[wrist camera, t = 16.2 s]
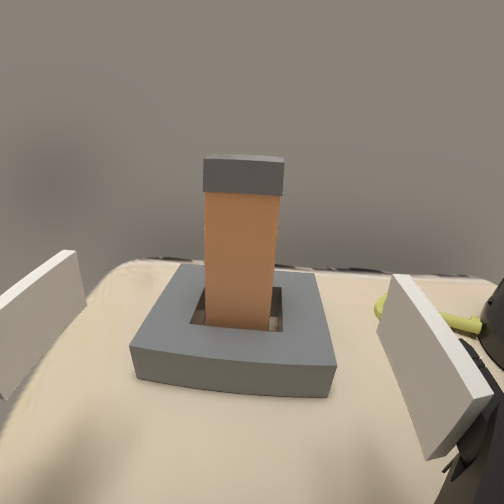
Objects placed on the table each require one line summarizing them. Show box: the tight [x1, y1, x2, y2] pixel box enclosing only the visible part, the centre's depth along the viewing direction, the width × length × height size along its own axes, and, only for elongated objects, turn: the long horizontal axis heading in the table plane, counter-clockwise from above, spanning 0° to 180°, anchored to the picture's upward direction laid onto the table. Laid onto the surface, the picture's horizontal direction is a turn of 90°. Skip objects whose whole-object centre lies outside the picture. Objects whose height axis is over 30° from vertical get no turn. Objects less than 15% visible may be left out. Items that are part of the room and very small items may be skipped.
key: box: [374, 293, 482, 334], centre depth 27 cm, size 7×12×2 cm, turn 68°
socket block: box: [129, 264, 337, 397], centre depth 24 cm, size 13×13×3 cm
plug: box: [203, 154, 284, 331], centre depth 22 cm, size 5×5×14 cm
